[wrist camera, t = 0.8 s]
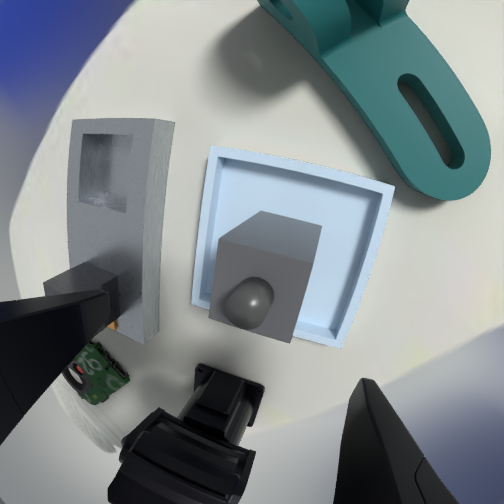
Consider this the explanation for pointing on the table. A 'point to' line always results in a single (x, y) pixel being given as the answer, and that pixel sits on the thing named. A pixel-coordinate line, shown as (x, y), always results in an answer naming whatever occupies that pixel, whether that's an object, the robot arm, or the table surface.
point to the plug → (264, 274)
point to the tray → (306, 209)
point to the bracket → (394, 87)
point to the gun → (95, 374)
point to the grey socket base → (117, 218)
